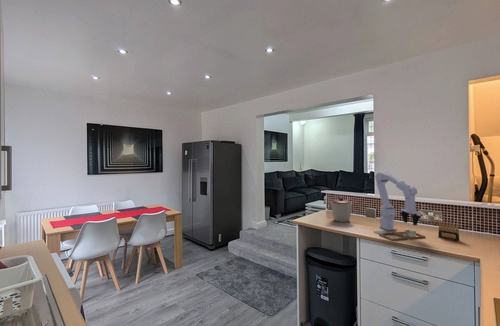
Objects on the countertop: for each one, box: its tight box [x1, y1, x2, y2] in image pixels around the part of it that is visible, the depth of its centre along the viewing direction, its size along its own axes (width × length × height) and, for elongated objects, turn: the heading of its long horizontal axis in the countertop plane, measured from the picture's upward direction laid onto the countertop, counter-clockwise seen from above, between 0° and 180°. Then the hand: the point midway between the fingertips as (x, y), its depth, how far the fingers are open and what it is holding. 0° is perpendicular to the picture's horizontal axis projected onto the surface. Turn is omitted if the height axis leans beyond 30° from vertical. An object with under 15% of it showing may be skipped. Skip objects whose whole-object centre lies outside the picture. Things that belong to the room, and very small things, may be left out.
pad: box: [373, 230, 392, 235], centre depth 173 cm, size 7×10×1 cm
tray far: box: [395, 231, 426, 240], centre depth 166 cm, size 12×12×1 cm
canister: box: [330, 196, 353, 223], centre depth 211 cm, size 18×18×21 cm
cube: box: [404, 228, 417, 237], centre depth 166 cm, size 4×4×4 cm
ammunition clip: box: [438, 219, 460, 242], centre depth 158 cm, size 11×2×12 cm, turn 40°
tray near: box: [378, 232, 409, 242], centre depth 163 cm, size 12×12×1 cm
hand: (410, 223), depth 166 cm, fingers open, 7 cm apart
